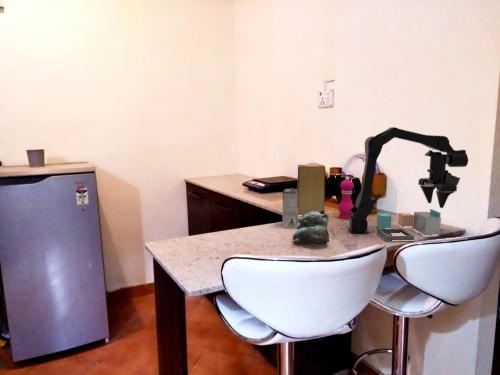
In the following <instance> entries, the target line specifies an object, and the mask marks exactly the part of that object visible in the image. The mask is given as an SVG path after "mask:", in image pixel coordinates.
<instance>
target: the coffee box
mask: <svg viewBox="0 0 500 375" xmlns="http://www.w3.org/2000/svg"><path fill="white" fill-rule="evenodd" d="M298 195H299V189H297V188H284V190H283V191H282V228H283V229H297V225H298V219H299V217H298Z"/></svg>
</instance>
